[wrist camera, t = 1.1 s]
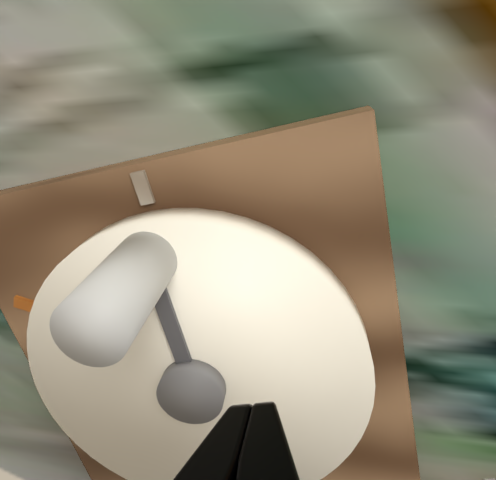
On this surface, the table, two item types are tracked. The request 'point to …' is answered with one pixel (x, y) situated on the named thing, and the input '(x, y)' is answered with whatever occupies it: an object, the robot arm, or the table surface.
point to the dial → (198, 342)
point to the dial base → (256, 208)
